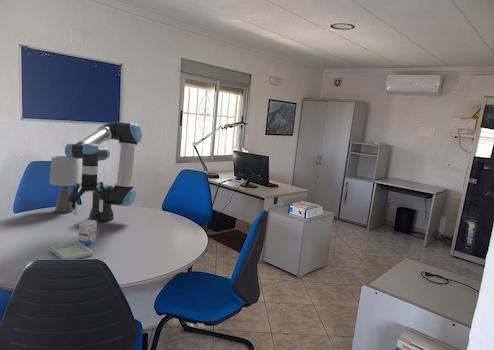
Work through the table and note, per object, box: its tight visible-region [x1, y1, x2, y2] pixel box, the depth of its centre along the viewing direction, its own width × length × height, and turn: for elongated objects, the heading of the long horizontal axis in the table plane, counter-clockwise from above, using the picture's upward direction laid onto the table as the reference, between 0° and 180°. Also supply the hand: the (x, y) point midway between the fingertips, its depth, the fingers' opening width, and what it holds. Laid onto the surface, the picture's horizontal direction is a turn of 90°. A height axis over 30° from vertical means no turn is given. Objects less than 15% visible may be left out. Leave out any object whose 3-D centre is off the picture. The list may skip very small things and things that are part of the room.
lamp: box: [48, 155, 81, 214], centre depth 229 cm, size 19×19×37 cm
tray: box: [50, 241, 94, 260], centre depth 166 cm, size 13×16×2 cm
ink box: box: [78, 219, 98, 247], centre depth 180 cm, size 9×5×12 cm, turn 168°
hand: (88, 213), depth 178 cm, fingers open, 13 cm apart
